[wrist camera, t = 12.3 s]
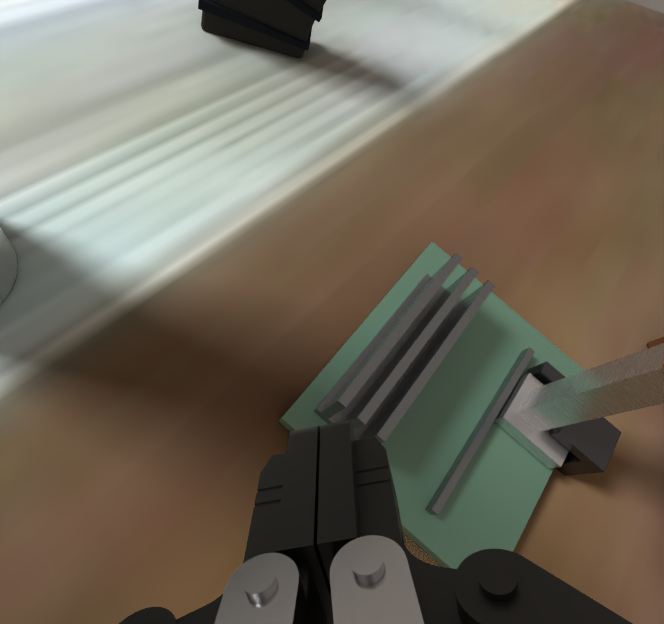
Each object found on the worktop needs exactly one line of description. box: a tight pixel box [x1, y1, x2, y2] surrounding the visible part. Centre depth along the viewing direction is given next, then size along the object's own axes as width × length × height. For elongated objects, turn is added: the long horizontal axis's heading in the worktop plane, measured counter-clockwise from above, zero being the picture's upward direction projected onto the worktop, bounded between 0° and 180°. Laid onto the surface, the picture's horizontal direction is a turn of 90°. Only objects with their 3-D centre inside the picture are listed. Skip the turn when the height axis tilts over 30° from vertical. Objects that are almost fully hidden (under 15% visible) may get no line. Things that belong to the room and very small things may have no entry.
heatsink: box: [314, 253, 621, 515], centre depth 39 cm, size 17×20×7 cm
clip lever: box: [494, 343, 664, 468], centre depth 34 cm, size 5×6×17 cm
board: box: [279, 242, 584, 569], centre depth 41 cm, size 22×20×2 cm
